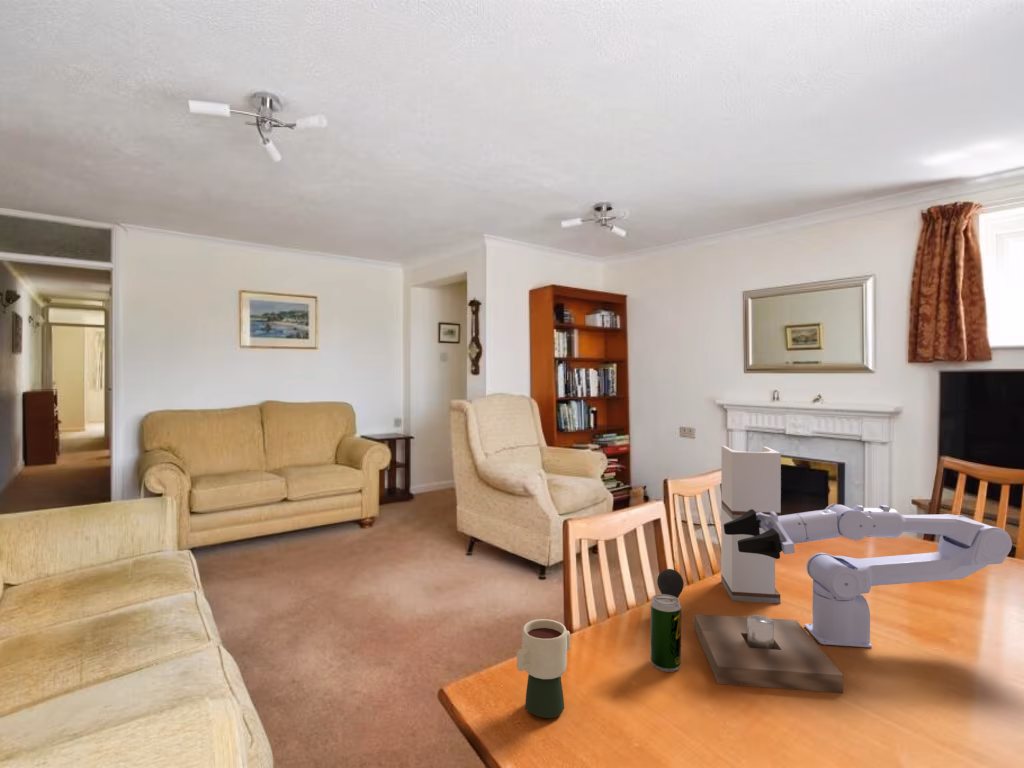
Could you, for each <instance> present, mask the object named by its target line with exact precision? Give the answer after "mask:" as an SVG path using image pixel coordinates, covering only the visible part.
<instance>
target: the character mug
mask: <svg viewBox="0 0 1024 768" xmlns="http://www.w3.org/2000/svg"><path fill="white" fill-rule="evenodd" d="M521 631H522V632H521V633H522V634H521V636H522V637H521V638H522V639H521V648H520V649H518V650H517V651H516V668H517V670H518V672H523V671H525V672H526V673H527V674H528V677H527V682H526V683H527V685H526V689H525V691H526V692H525V702H524V703H525V704H524V705H525V706H524V708H525V710H527V712H529V713H531V715H534V716H536V717H541V718H543V719H544V718H545V719H552V718H557V717H558V716H560V715H561V714H562V713H563V711H564V709H565V697H564V692H563V683H562V676H563V675H564V674H565V673H566V670H567V666H568V651H569V650H570V649H571V633H570V631H569V630H567V628H566V626H565V625H564V624H563V623H562V622H560V621H556V620H553V619H548V618H546V619H545V618H544V619H543V618H542V619H541V618H539V619H538V618H537V619H533V620H529V621H528V622H526V623H525V624H524V625H523V627H522V630H521Z"/></svg>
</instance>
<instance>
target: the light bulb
mask: <svg viewBox="0 0 1024 768" xmlns="http://www.w3.org/2000/svg"><path fill="white" fill-rule="evenodd" d="M656 581H657V582H656V583H657V587H658V590H659V591H660V593H661V594H666V595H671V596H674V597H676V598H678V599H679V597H680V595H681V594H682V592H683V590H684V585H685V583H684V579H683V577H682V575H681V574H680V572H678V571H677V570H675V569H673V568H665V569H663V570H662V571H661V572H659V575H658V577H657V579H656Z"/></svg>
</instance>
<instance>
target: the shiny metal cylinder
mask: <svg viewBox="0 0 1024 768" xmlns="http://www.w3.org/2000/svg"><path fill="white" fill-rule="evenodd" d="M746 617H747V645H748V647H749V648H760V649H774V622H773V620H771V619H772V618H771V619H770V617H768V616H764V615H760V614H751V615H748V616H746Z"/></svg>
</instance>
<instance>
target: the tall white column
mask: <svg viewBox="0 0 1024 768" xmlns="http://www.w3.org/2000/svg"><path fill="white" fill-rule="evenodd" d="M720 455H721V456H720V457H721V461H720V463H721V464H720V465H721V467H720V468H721V472H720V473H721V486H720V487H721V497H720V498H721V504H720V505H721V512H720V513H721V519H720V520H721V521H720V523H721V525H720V526H721V534H720V537H721V539H720V540H721V541H720V542H721V544H720V545H721V546H720V547H721V549H720V550H721V552H720V554H721V557H720V559H721V560H720V561H721V563H720V564H721V568H720V569H721V573H720V574H721V576H720V578H721V584H722V585H723V587H724V589H725V590H726V592H727V594H728V596H729V598H730V599H731V600H732V601H738V602H753V603H755V602H756V603H771V604H781V593H779V591H778V590H777V588H776V559H775V558H773V557H770V556H766V555H762V554H755V553H744V552H739V550H738V542H737V541H739V540H741V539H745V538H749V537H753V536H752V535H745V534H738V535H727V534H725V533H724V524H725V523H728V522H730V521H733V520H735V519H737V518H739V517H741V516H743V515H744V514H745V513H747V512H748V511H749V510H751V509H753V510H754V511H755V512H756V513H758V512H762V513H763V514H766V515H770V512H775V513H776V514H777V516H782V515H781V514H782V513H781V512H782V509H781V507H782V505H781V504H782V503H781V499H782V496H781V495H782V489H781V488H782V480H781V479H782V474H781V473H782V469H781V467H782V453H781V452H779V451H777V450H776V449H772V448H770V447H768V446H761V451H744V450H734V449H731V448H730V447H728V446H726V445H721V454H720ZM759 530H760V534H762V533H764V532H765V531H764V529H763V528H759Z"/></svg>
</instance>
